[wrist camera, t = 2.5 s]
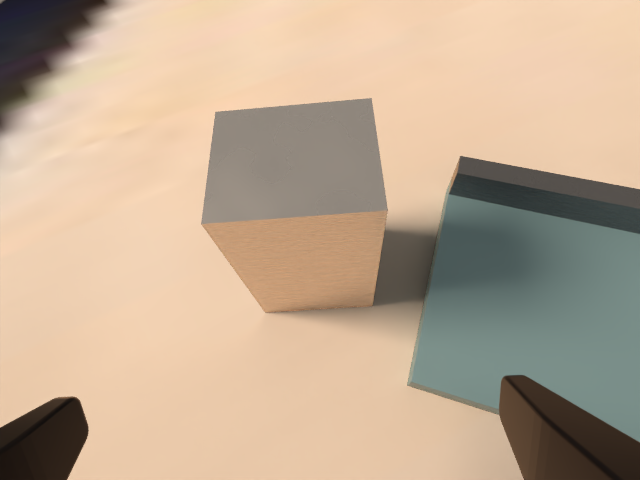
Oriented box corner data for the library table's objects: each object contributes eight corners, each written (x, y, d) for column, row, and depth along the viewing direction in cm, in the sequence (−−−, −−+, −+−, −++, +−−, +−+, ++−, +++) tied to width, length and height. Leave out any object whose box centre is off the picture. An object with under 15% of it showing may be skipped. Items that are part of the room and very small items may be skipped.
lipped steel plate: (683, 473, 16) (763, 483, 13) (406, 385, 19) (417, 376, 15) (661, 237, 21) (714, 203, 18) (446, 192, 24) (460, 156, 20)
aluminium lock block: (372, 306, 21) (387, 210, 12) (265, 312, 21) (201, 223, 12) (363, 223, 23) (370, 92, 14) (267, 230, 23) (216, 106, 14)
